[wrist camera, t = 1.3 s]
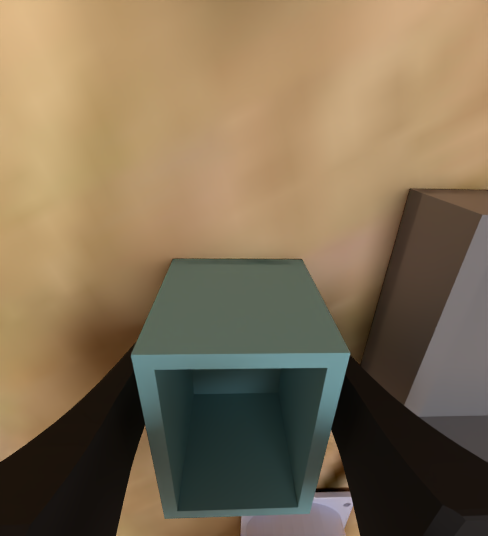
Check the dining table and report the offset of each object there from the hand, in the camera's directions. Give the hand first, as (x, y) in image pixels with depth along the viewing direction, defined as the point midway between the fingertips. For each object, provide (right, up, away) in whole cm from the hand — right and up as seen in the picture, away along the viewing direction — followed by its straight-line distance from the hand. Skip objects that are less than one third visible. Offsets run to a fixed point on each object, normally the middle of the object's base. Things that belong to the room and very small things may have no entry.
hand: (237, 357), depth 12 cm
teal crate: (0, +1, +1) cm, 2 cm away
